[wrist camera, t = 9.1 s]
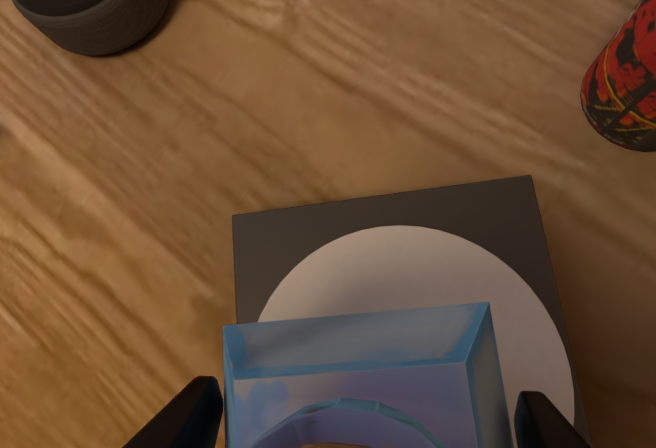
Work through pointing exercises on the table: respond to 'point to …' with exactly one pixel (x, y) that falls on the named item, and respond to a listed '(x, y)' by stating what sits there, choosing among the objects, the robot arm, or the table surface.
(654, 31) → the deodorant
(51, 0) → the smart speaker
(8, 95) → the table surface
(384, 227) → the kitchen scale
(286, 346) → the perfume bottle
